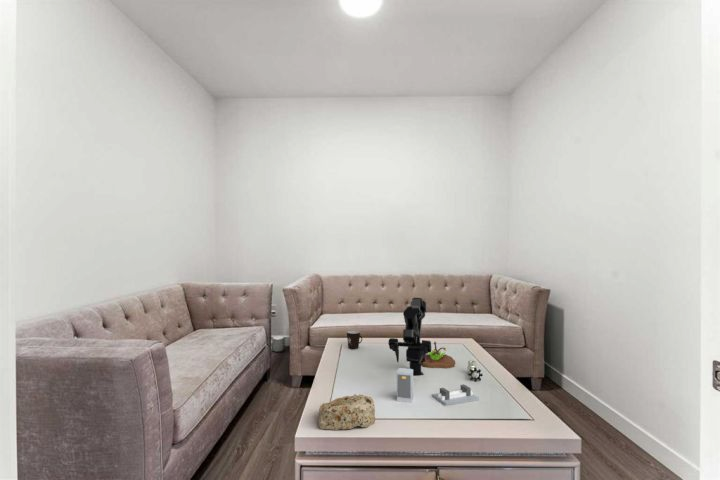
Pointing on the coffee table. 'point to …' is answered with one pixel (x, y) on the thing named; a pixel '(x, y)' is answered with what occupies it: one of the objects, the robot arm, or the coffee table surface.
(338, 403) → the rock
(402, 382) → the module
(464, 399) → the rail
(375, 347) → the coffee table surface
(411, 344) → the robot arm
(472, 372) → the valve
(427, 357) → the plant
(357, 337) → the coffee mug
